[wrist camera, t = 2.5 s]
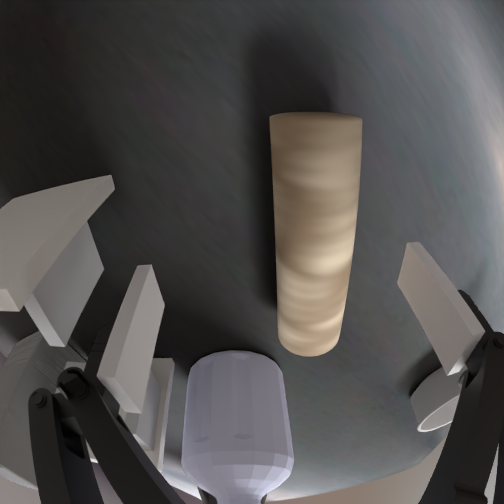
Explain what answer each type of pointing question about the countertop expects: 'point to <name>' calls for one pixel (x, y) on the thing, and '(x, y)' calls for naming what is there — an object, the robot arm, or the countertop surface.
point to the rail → (314, 223)
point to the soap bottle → (236, 427)
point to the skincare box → (26, 400)
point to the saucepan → (437, 399)
